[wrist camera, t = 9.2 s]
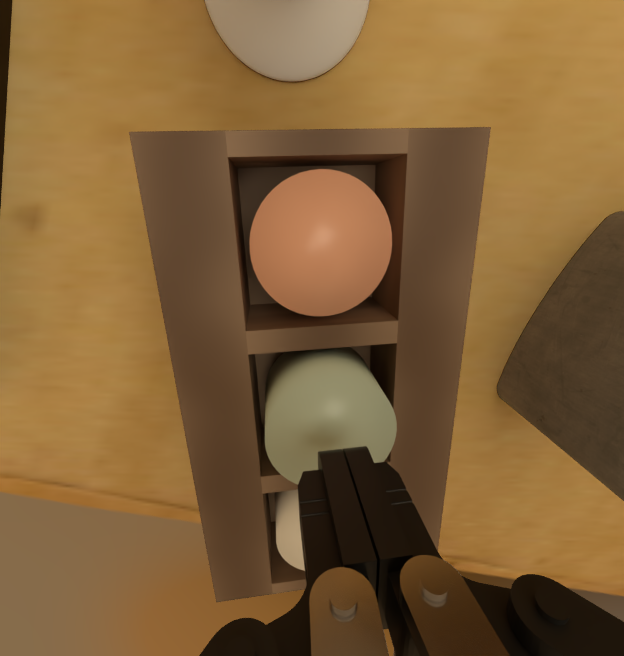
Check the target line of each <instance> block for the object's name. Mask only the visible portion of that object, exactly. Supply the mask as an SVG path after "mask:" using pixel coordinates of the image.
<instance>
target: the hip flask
mask: <svg viewBox="0 0 624 656" xmlns="http://www.w3.org/2000/svg"><path fill="white" fill-rule="evenodd" d="M497 393H498V395H499V397H500V398H501V399H502V400H504V401H505V402H506V403H507V404H508V405H510V406H511V407H512V408H513V409H514V410H516V411H517V412H518V413H519V414H520V415H522V416H523V417H524V418H525V419H526V420H528V421H529V422H530V423H531V424H532V425H534V426H535V427H536V428H537V429H538V430H540V431H541V432H542V433H543V434H544V435H546V436H547V437H548V438H549V439H550V440H552V441H553V442H554V443H555V444H556V445H558V446H559V447H560V448H561V449H562V450H563V451H565V452H566V453H567V454H568V455H569V456H571V457H572V458H573V459H574V460H575V461H577V462H578V463H579V464H580V465H581V466H583V467H584V468H585V469H586V470H587V471H589V472H590V473H591V474H592V475H593V476H595V477H596V478H597V479H598V480H599V481H601V482H602V483H603V484H604V485H605V486H607V487H608V488H609V489H610V490H611V491H613V492H614V493H615V494H616V495H617V496H619V497H620V498H621V499H622V500H623V501H624V211H623V212H616V213H614V214H612V215H610V216H608V217H607V218H606V219H605V220H604V221H603V222H602V223H601V224H600V225H599V226H598V228H597V229H596V230H595V231H594V232H593V233H592V234H591V236H590V237H589V238H588V239H587V240H586V242H585V243H584V244H583V245H582V246H581V247H580V249H579V250H578V251H577V253H576V254H575V255H574V256H573V258H572V259H571V260H570V262H569V263H568V264H567V266H566V267H565V268H564V270H563V271H562V272H561V274H560V275H559V276H558V278H557V279H556V281H555V282H554V284H553V285H552V286H551V288H550V289H549V291H548V292H547V294H546V295H545V297H544V299H543V300H542V302H541V303H540V305H539V306H538V308H537V309H536V311H535V313H534V314H533V316H532V317H531V319H530V321H529V322H528V324H527V326H526V327H525V329H524V331H523V333H522V335H521V336H520V338H519V340H518V342H517V344H516V346H515V348H514V349H513V351H512V353H511V355H510V357H509V359H508V362H507V364H506V366H505V368H504V370H503V373H502V375H501V377H500V380H499V382H498V385H497Z"/></svg>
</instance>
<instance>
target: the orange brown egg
mask: <svg viewBox="0 0 624 656" xmlns="http://www.w3.org/2000/svg"><path fill="white" fill-rule="evenodd" d="M249 243H250V256H251V262H252V265H253V269H254V271H255V274H256V276H257V278H258V280H259V282H260V283H261V285H262V287H263V288H264V289H265V290H266V292H267V293H268V294H269V295H270V296H271V297H272V298H273V299H274V300H275V301H277V302H278V303H279V304H281V305H282V306H284V307H286V308H287V309H289V310H292V311H294V312H297V313H300V314H304V315H309V316H330V315H335V314H339V313H342V312H345V311H347V310H349V309H351V308H353V307H355V306H357V305H358V304H360V303H361V302H362V301H364V300H365V299H366V298H367V297H368V296H369V295H370V294H371V293H372V292H373V291H374V290H375V289H376V288H377V286H378V285H379V283H380V282H381V280H382V278H383V276H384V274H385V272H386V270H387V267H388V264H389V261H390V257H391V251H392V232H391V225H390V221H389V218H388V215H387V213H386V210H385V208H384V206H383V204H382V203H381V201H380V199H379V198H378V197H377V196H376V194H375V193H374V192H373V191H372V190H371V189H370V188H369V187H368V186H367V185H366V184H364V183H363V182H362V181H360V180H359V179H357V178H355V177H353V176H351V175H349V174H346V173H344V172H341V171H336V170H331V169H316V170H309V171H305V172H301V173H298V174H296V175H293V176H291V177H289V178H288V179H286V180H284V181H282V182H281V183H280V184H279V185H277V186H276V187H275V188H274V189H273V190H272V191H271V192H270V193H269V194H268V195H267V196H266V198H265V199H264V200H263V202H262V203H261V205H260V207H259V209H258V210H257V212H256V215H255V217H254V220H253V223H252V227H251V231H250V241H249Z"/></svg>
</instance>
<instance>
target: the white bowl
mask: <svg viewBox="0 0 624 656" xmlns="http://www.w3.org/2000/svg"><path fill="white" fill-rule="evenodd" d="M204 1H205V4H206V7H207V10H208V13H209V15H210V18H211V20H212V22H213V24H214V26H215V28H216V30H217V32H218V34H219V35H220V37H221V38H222V40H223V41H224V43H225V44H226V46H227V47H228V48H229V49H230V50H231V52H232V53H233V54H234V55H235V56H236V57H237V58H238V59H239V60H240V61H242V62H243V63H244V64H245V65H247V66H248V67H249V68H251V69H252V70H254V71H256V72H258V73H259V74H262V75H264V76H266V77H269V78H272V79H276V80H280V81H290V82H295V81H304V80H308V79H312V78H315V77H317V76H320V75H322V74H324V73H326V72H327V71H329V70H330V69H332V68H333V67H334V66H336V65H337V64H338V63H339V62H340V61H341V60H342V59H343V58H344V57H345V56H346V55H347V53H348V52H349V51H350V49H351V48H352V47H353V45H354V43H355V42H356V40H357V38H358V36H359V34H360V32H361V30H362V27H363V24H364V22H365V18H366V15H367V11H368V6H369V0H204Z"/></svg>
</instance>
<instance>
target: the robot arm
mask: <svg viewBox="0 0 624 656" xmlns="http://www.w3.org/2000/svg"><path fill="white" fill-rule="evenodd" d="M298 501H299V519H300V531H301V540H302V549H303V558H304V568H305V577H306V589H305V591H304V594H303V596H302V597H301V599H300V601H299V602H298V603H297V604H296V606H295V607H294V608H293V609H291V610H290V611H289V612H287V613H286V614H284V615H283V616H281V617H279V618H278V619H276V620H274V621H272V622H271V623H269V624H268V625H265V624H264V623H262V622H261V621H259V620H256V619H253V618H242V619H238V620H234V621H232V622H230V623H228V624H227V625H225V626H224V627H222V628H221V629H220V630H219V631H218V632H217V633H216V634H215V635H214V637H213V638H212V639H211V640H210V642H209V643H208V644H207V646H206V647H205V649H204V650H203V652H202V653H201V654H200V656H389V654H388V649H387V645H386V640H385V635H384V631H383V629H389V632H390V636H391V639H392V643H393V646H394V656H624V622H623V621H621V620H620V619H617V618H616V617H615V616H613V615H611V614H610V613H608V612H606V611H604V610H603V609H601V608H599V607H598V606H596V605H595V604H593V603H591V602H589V601H588V600H586V599H585V598H583V597H581V596H579V595H578V594H576V593H575V592H573V591H571V590H569V589H568V588H566V587H565V586H563V585H561V584H560V583H558V582H556V581H554V580H552V579H550V578H547V577H544V576H541V575H535V574H527V575H522V576H520V577H518V578H517V579H516V580H515V581H514V583H513V584H512V588H511V589H509V588H503V587H498V586H493V585H488V584H483V583H478V582H475V581H471V580H469V579H467V578H465V577H463V576H461V575H460V573H458V571H457V570H456V569H455V568H454V567H453V566H452V565H450V564H449V563H447V562H446V561H444V560H443V559H442V558H441V556H440V555H439V553H438V551H437V549H436V547H435V545H434V543H433V541H432V539H431V537H430V535H429V533H428V531H427V529H426V527H425V525H424V523H423V521H422V519H421V517H420V515H419V513H418V511H417V509H416V507H415V505H414V504H413V502H412V499H411V497H410V495H409V493H408V491H407V490H406V487H405V485H404V483H403V481H402V479H401V477H400V475H399V473H398V472H397V471H396V470H395V469H394V468H392V467H391V466H390V465H389V464H388V463H387V462H379V463H374V461H373V459H372V457H371V454H370V452H369V450H368V448H367V446H362V447H353V448H344V449H336V450H327V451H318V470H311V471H303V473H302V476H301V478H300V481H299V484H298Z"/></svg>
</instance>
